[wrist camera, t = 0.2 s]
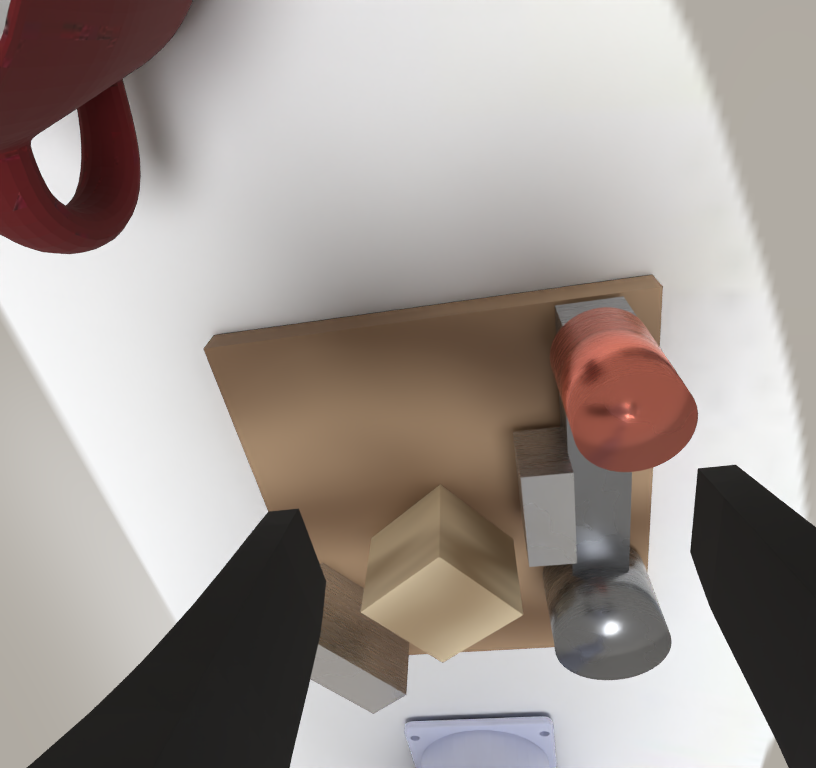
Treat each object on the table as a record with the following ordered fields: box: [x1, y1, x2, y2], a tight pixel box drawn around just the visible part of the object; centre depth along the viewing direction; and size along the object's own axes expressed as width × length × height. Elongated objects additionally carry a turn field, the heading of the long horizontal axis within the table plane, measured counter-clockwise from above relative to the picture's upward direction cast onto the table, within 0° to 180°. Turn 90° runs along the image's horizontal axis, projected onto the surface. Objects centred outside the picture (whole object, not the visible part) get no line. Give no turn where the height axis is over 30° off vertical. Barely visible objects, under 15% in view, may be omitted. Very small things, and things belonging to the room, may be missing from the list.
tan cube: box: [361, 485, 523, 663], centre depth 22 cm, size 4×4×4 cm
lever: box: [513, 296, 698, 680], centre depth 19 cm, size 14×5×5 cm, turn 10°
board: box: [204, 275, 663, 655], centre depth 23 cm, size 17×15×1 cm
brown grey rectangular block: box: [310, 562, 409, 714], centre depth 24 cm, size 5×2×4 cm, turn 48°
